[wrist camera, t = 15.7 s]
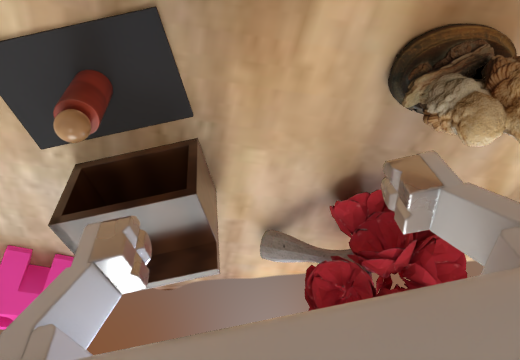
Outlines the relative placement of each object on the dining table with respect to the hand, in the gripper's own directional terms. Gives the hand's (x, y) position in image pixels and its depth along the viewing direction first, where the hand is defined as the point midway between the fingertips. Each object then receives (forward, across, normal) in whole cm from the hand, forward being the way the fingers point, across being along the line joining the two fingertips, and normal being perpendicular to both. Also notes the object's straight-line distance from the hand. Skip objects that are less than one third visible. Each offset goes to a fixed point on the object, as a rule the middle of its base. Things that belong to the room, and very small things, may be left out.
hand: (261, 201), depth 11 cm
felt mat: (+31, +17, +7) cm, 36 cm away
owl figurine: (+31, -26, +15) cm, 43 cm away
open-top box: (+31, +16, +22) cm, 41 cm away
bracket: (+31, +42, +37) cm, 64 cm away
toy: (+31, +17, +7) cm, 36 cm away
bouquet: (+31, -12, +39) cm, 51 cm away
